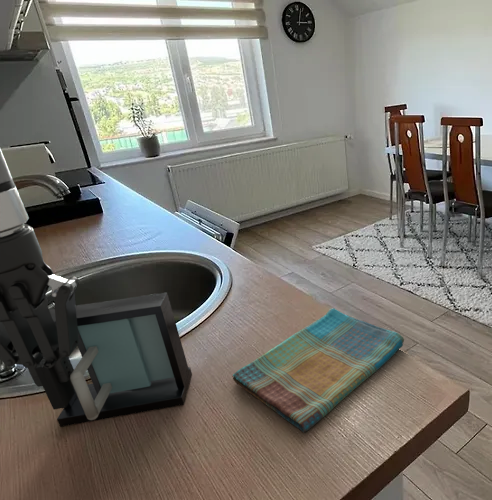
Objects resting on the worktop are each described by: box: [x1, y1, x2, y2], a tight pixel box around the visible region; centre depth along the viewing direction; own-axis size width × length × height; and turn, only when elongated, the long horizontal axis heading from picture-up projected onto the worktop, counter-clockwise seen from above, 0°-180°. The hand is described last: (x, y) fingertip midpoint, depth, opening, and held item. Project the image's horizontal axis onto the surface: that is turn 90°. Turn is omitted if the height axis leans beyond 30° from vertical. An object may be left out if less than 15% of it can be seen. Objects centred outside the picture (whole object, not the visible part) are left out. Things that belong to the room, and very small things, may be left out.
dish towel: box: [232, 307, 405, 433], centre depth 67 cm, size 17×23×2 cm
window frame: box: [42, 292, 193, 428], centre depth 60 cm, size 17×7×16 cm, turn 100°
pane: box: [70, 318, 151, 420], centre depth 57 cm, size 7×8×12 cm
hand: (64, 400), depth 54 cm, fingers closed
